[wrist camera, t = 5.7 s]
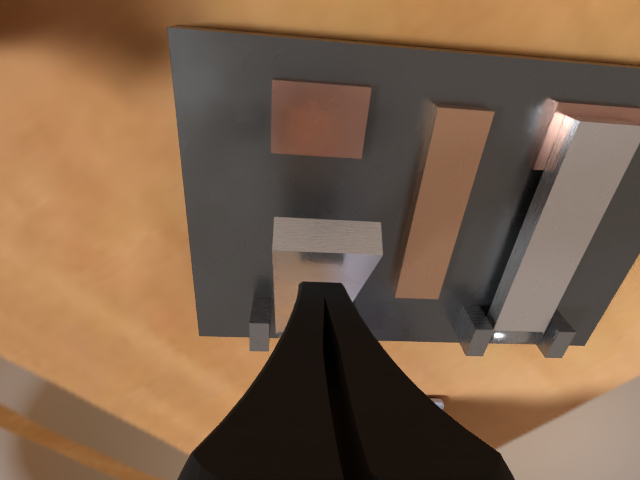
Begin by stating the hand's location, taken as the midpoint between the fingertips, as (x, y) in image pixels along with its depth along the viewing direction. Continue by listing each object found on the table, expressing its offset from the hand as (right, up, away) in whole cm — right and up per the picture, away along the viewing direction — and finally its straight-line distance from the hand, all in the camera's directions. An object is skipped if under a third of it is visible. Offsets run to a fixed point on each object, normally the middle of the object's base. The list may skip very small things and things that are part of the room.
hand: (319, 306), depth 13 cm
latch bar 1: (0, 0, +4) cm, 4 cm away
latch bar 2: (+11, +2, +8) cm, 14 cm away
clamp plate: (+5, +4, +9) cm, 11 cm away
